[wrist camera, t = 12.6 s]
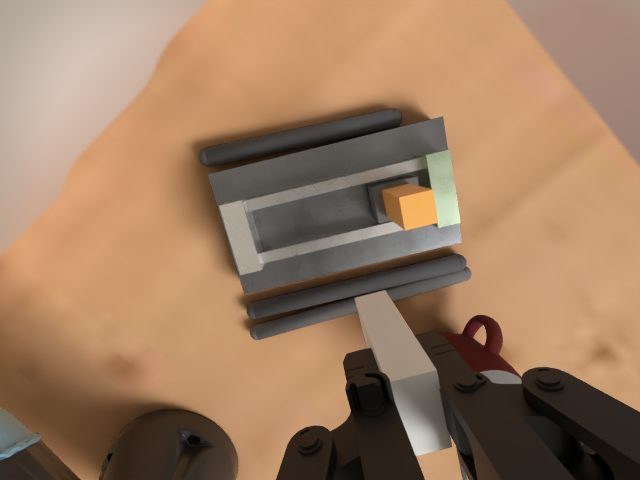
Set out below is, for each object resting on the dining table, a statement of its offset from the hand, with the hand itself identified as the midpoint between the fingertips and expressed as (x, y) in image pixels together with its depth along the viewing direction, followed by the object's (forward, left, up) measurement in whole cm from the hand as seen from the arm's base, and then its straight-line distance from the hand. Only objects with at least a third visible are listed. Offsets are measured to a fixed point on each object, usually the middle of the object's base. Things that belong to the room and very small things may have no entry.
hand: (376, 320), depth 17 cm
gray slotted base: (0, +3, -21) cm, 21 cm away
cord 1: (-2, +10, -21) cm, 23 cm away
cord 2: (0, -8, -21) cm, 22 cm away
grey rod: (0, -6, -21) cm, 22 cm away
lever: (+5, +3, -17) cm, 18 cm away
